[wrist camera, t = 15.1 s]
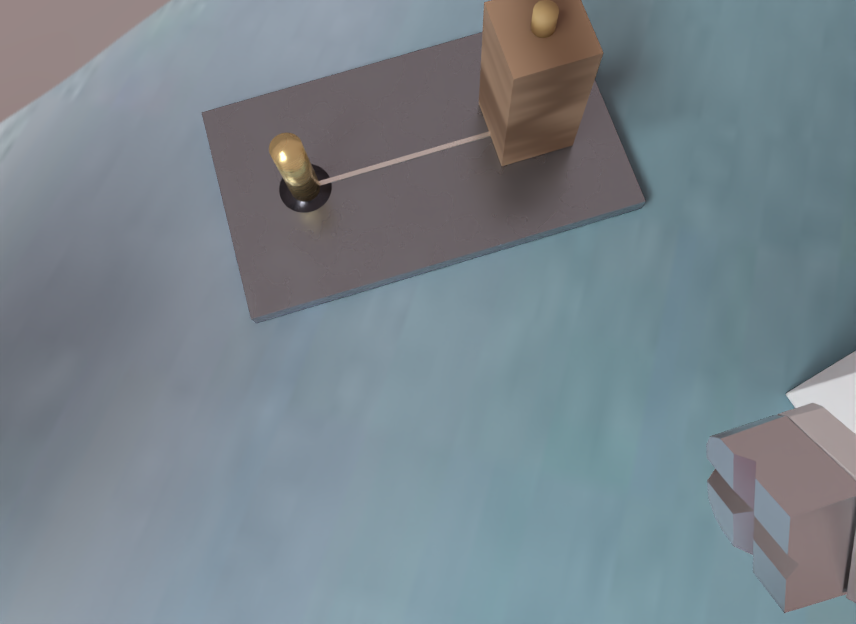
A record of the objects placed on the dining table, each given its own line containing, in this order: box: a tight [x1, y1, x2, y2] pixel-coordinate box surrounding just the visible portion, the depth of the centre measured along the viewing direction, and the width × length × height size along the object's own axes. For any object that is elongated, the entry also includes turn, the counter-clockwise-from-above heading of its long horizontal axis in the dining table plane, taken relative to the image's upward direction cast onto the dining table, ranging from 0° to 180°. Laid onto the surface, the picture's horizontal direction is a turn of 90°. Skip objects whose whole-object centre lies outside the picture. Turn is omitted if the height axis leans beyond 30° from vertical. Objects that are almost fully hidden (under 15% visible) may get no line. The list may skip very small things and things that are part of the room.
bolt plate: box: [202, 32, 646, 323], centre depth 40 cm, size 24×14×6 cm, turn 107°
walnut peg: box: [479, 0, 603, 166], centre depth 37 cm, size 4×4×10 cm
